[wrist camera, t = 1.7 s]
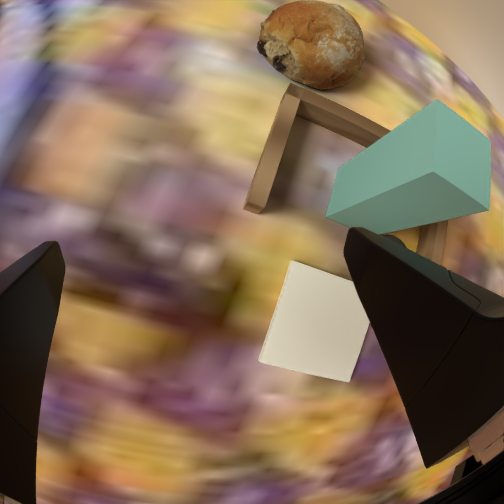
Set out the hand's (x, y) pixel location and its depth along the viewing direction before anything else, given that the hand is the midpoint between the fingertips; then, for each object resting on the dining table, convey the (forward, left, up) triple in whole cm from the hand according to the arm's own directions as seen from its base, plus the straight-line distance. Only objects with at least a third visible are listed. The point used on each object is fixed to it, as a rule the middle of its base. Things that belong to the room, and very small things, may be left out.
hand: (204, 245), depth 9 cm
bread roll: (+9, -20, -15) cm, 27 cm away
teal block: (-5, -13, -14) cm, 20 cm away
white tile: (-10, -4, -14) cm, 18 cm away
